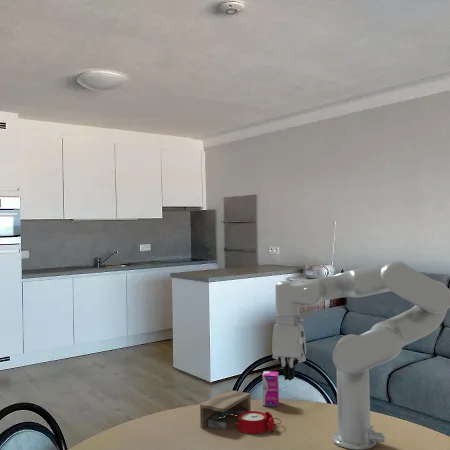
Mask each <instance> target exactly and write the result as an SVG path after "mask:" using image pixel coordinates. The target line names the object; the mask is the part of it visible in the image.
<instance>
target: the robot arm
mask: <svg viewBox="0 0 450 450" xmlns="http://www.w3.org/2000/svg"><path fill="white" fill-rule="evenodd" d="M274 289H275V290H274V291H275V292H274V293H275V324H274V325H273V330H272V339H271V340H272V341H271V345H272V346H271V348H272V349H271V351H272V359H274V360H276V361H278V362H279V363H280V364H281V366H282V370H283V371H282V373H283V377H284V380H285V381H292V380H294V378H295V377H296V366H297V364H299V363H304V362H306V361H307V360H306V355H307V343H306V342H307V341H306V335H305V330H304V326H303V324H301V323H304V322H305V318H304V317H301V314H300V313H301V312H300V311H301V308H300V306H307V307H313V306H316V305H317V304H320V303H321V302H324V301H325V302H326V301H329V300H333V299H334V300H335V299H340V298H357V299H358V298H363V297H368V296H373V295H378V294H382V293H384V294H385V293H388V292H392V293H394V294H395V295H397V296H398V297H400V298H402V299H404V300H406V301H407V302H409V303H411V304H413V305H414V306H412V307H411V308H410V309H408V310H406V311H404V312H401V313H400V314H397V315H395V316H392V317H390V318H388V319H385V320H382V321H379V322H377V323H375V324H373V326H372V327H371V328H370V330H368V331H365V332H363V333H360V334H358V335H357V334H351V333H350V334H349V333H348V334H346V335H344V336H342V337H341V338H340V339H339V340H338V341H337V343H336V344H335V347H334V348H333V352H332V363H333V365H334V367H335V368H336V400H337V402H336V405H337V409H336V410H337V431H336V432H335V433H333V435H332V441H333V442H334V443H335V445H337V446H339V447H342V448H344V449H349V450H369V449H372V448H373V447H374V448H375V446H376V445H377V442H378V443H382V444H383V443H384V444H385V442H386V435H384V433H383V432H380V431H379V432H377V431H376V430H374V425H371V404H370V403H371V399H370V398H371V396H370V370H371V369H373V368H376V367H378V366H381V365H383V364H386V363H387V362H390V361H392V360H393V359H395V358H396V357H398V356H399V354H400V353H402V349H403V347H404V346H407V345H409V344H411V343H414V342H416V341H418V340H420V339H423V338H425V337H426V336H429V335H430V334H432V333H433V332H434V331H435V330H437V329H438V328H439V327H440V325H441V324H442V323H443V321H444V320H445V318H446V315H447V312H448V310H449V309H450V288H448V287H447V286H446V285H445V283H443V282H441V281H438V280H435V279H433V278H430V276H428V275H425V274H423V273H421V272H419V271H417V270H416V269H414V268H412V267H411V266H409V265H408V264H407V263H405V262H404V261H401V260H390V261H388V262H382V263H378V264H374V265H370V266H364V267H359V268H355V269H350V270H346V271H344V272H341V273H337V274H332V275H329V276H323V277H317V278H314V279H311V280H310V279H309V280H307V281H304V282H297V281H294V280H281V281H277V282H276V283H275V288H274Z"/></svg>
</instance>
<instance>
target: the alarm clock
mask: <svg viewBox="0 0 450 450" xmlns="http://www.w3.org/2000/svg"><path fill="white" fill-rule="evenodd" d="M233 417H234V418H235V417H236V418H238V422H235V423H234V424H235V425H236V427H235V429H237V430H238V431H239V432H242V433H244V434H254V435H255V434H262V433H265V432H267V431H268V432H269V433H271V432H272V433H273V431H274V429H275V426H277V425H280V424H282V420H281V419H280V418H278V417H273V414H272V413H271V412H270V411H265V412H262V411H255V410H252V411H247V412H243V413H241V414H240V415H239V416H235V415H234V416H233ZM275 420H279V421H280V422H279V423H275Z"/></svg>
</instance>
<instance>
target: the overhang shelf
mask: <svg viewBox="0 0 450 450" xmlns="http://www.w3.org/2000/svg"><path fill="white" fill-rule="evenodd" d="M251 401H252V400H251V393H249V392H244V391H236V390H231V389H227V390H225V391H223V392H222V393H220V394H218V395H216V396H214V397H212V398H209V399H208V400H206V401H204V402H202V403H200V404H199V406H200V407H199V409H200V410H199V411H200V412H199V413H200V415H199V416H200V417H199V419H200V420H199V421H200V422H199V423H200V428H201V429H204V428H205V427H209V428H215V429H220V430H223V429H224V430H225V431H226V430H227V422H225V421H222V420H221V421H220V420H219V419H220V418H219V417H222V418H223V417H224V416H226V415H227V416H228V414H233V415H237V416H239V415H240V414H241V413H243V412H247V411H251ZM227 413H228V414H227ZM233 415H232V416H233ZM227 416H226V417H227ZM218 418H219V419H218ZM222 418H221V419H222ZM224 418H225V417H224ZM224 418H223V419H224Z"/></svg>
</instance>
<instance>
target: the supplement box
mask: <svg viewBox="0 0 450 450" xmlns="http://www.w3.org/2000/svg"><path fill="white" fill-rule="evenodd" d="M279 381H280V380H279V371H268V370H267V371H266V370H264V371H263V373H262V407H275V406H278V407H279V403H280V397H279V395H280V393H279V392H280V389H279V386H280V385H279V383H280V382H279Z"/></svg>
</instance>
